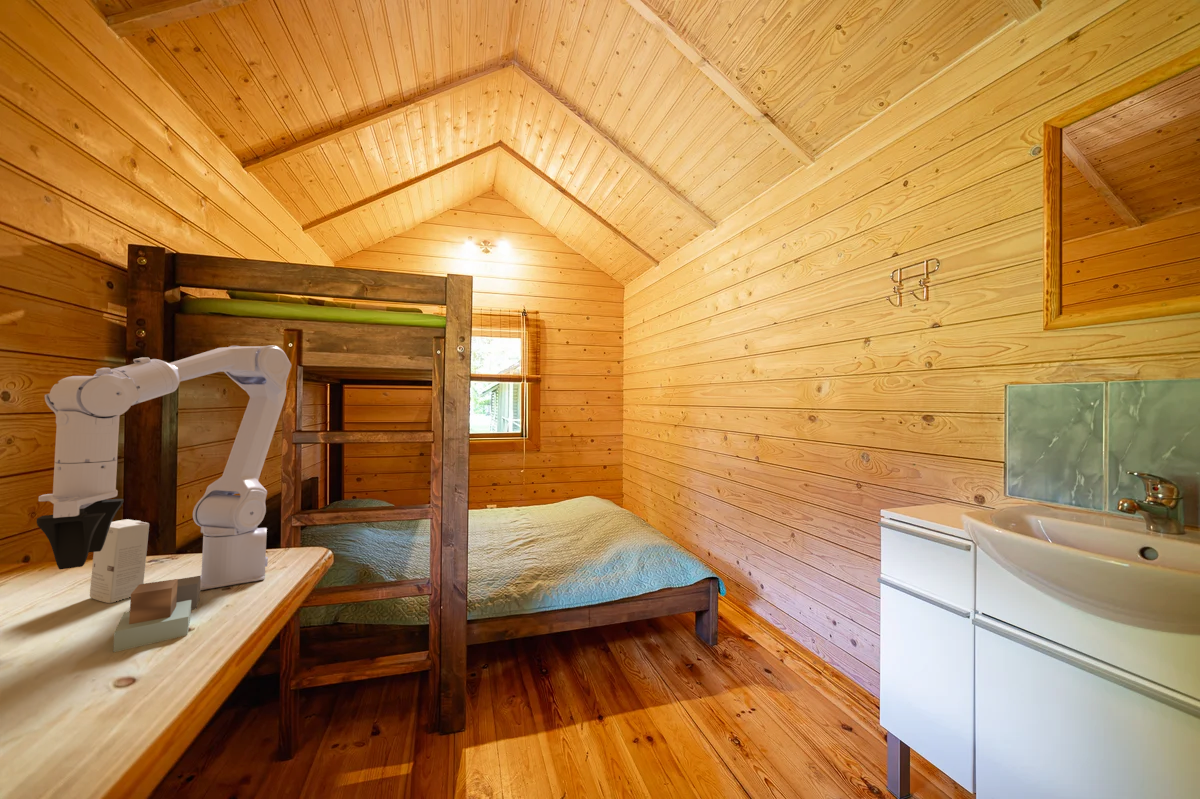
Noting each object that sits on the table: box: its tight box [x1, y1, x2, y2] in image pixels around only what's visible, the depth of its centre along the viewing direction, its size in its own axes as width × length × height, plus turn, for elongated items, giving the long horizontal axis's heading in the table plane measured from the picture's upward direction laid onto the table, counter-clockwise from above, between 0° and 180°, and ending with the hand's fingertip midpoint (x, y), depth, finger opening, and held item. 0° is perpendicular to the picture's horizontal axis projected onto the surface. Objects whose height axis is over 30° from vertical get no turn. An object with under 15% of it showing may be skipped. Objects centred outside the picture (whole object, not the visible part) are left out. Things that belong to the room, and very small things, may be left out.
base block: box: [112, 600, 192, 653], centre depth 62 cm, size 7×7×3 cm
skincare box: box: [89, 518, 150, 604], centre depth 73 cm, size 6×4×12 cm
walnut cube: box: [129, 578, 179, 624], centre depth 62 cm, size 4×4×4 cm
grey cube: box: [176, 575, 201, 610], centre depth 70 cm, size 4×4×4 cm
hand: (81, 559), depth 61 cm, fingers open, 7 cm apart
